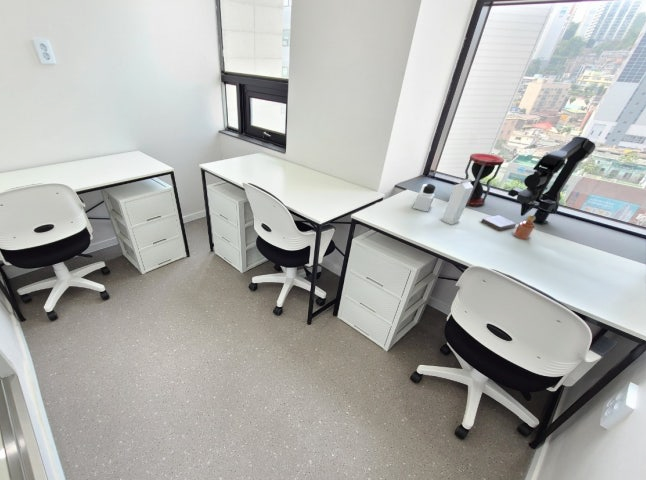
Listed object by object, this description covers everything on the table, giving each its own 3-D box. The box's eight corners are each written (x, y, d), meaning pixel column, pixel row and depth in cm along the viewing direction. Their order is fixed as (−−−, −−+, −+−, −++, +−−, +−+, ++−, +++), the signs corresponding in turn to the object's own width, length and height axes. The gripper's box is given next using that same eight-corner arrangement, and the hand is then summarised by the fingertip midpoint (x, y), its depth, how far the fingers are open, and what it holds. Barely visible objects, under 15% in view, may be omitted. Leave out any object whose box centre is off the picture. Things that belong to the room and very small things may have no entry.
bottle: (518, 237, 154) (537, 238, 146) (510, 239, 152) (529, 240, 144) (519, 214, 151) (539, 214, 143) (511, 216, 149) (530, 216, 141)
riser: (496, 218, 165) (498, 215, 163) (514, 227, 157) (516, 223, 156) (480, 222, 161) (482, 218, 159) (498, 230, 154) (500, 227, 152)
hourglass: (451, 201, 181) (468, 157, 165) (456, 193, 191) (473, 151, 176) (481, 209, 174) (503, 164, 158) (485, 200, 184) (505, 156, 169)
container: (430, 207, 174) (438, 184, 166) (427, 211, 169) (435, 188, 161) (416, 203, 177) (423, 181, 169) (412, 208, 172) (420, 185, 164)
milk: (458, 222, 160) (476, 180, 146) (450, 224, 157) (469, 182, 144) (448, 217, 164) (465, 176, 150) (440, 219, 162) (457, 178, 148)
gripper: (508, 178, 142) (492, 210, 152) (549, 193, 129) (529, 227, 138) (524, 176, 146) (508, 206, 155) (566, 190, 132) (545, 223, 142)
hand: (521, 215), depth 148 cm, fingers closed
